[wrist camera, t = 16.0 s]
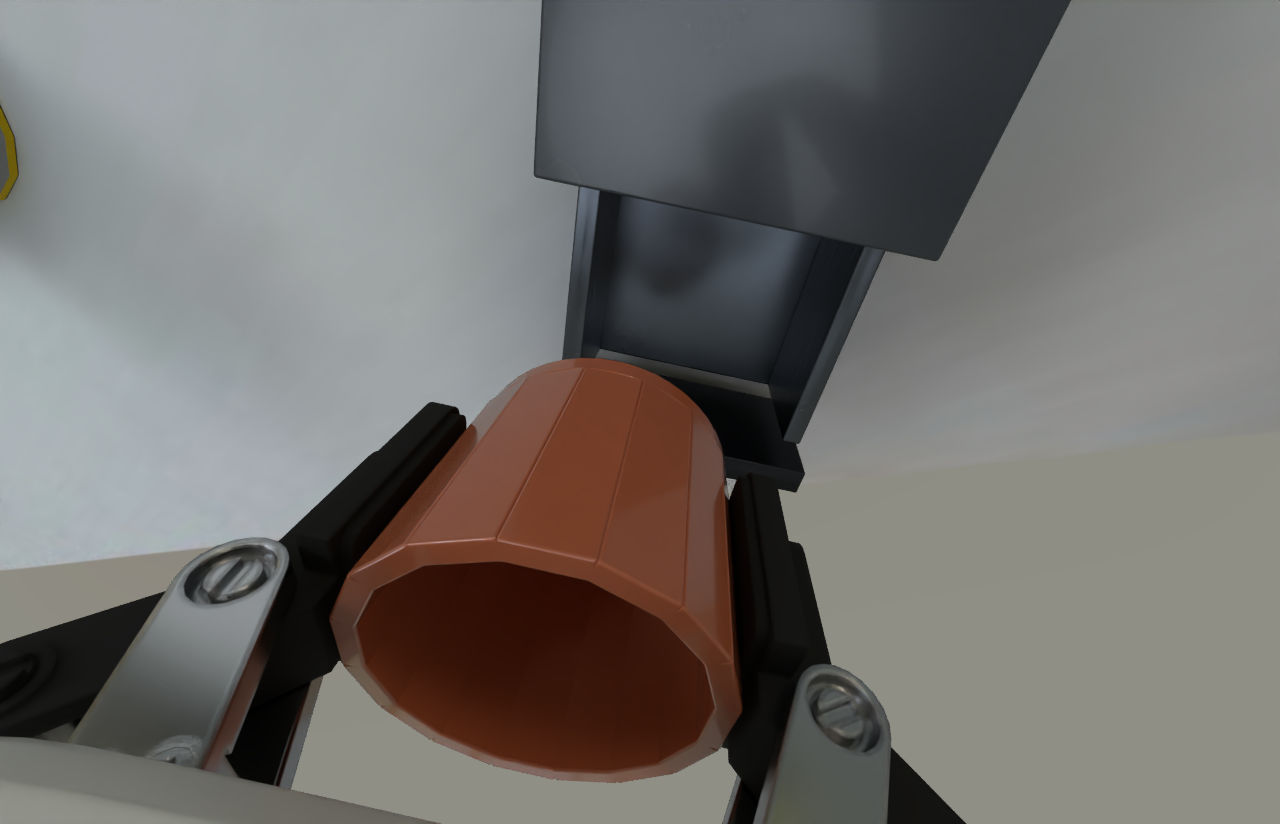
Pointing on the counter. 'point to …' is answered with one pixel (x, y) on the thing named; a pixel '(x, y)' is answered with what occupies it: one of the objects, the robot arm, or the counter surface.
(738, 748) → the robot arm
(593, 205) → the drawer
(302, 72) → the counter surface
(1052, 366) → the counter surface
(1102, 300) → the counter surface
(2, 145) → the soap bottle
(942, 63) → the dark gray drawer box
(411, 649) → the cup
